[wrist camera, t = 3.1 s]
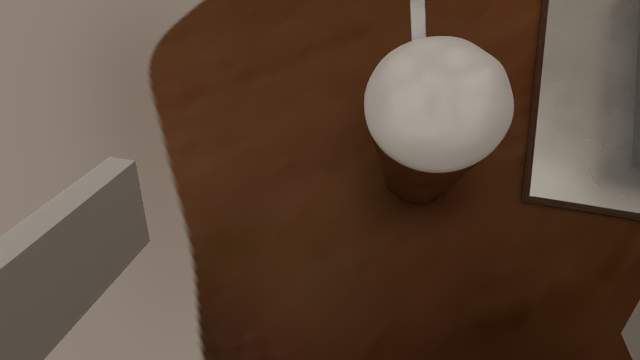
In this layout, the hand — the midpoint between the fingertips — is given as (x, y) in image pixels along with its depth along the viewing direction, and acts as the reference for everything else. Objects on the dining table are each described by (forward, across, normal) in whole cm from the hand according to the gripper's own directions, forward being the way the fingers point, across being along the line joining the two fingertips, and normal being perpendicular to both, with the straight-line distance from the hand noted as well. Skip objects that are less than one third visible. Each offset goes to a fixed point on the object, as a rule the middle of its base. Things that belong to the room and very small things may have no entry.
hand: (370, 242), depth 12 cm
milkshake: (+11, +1, -3) cm, 11 cm away
